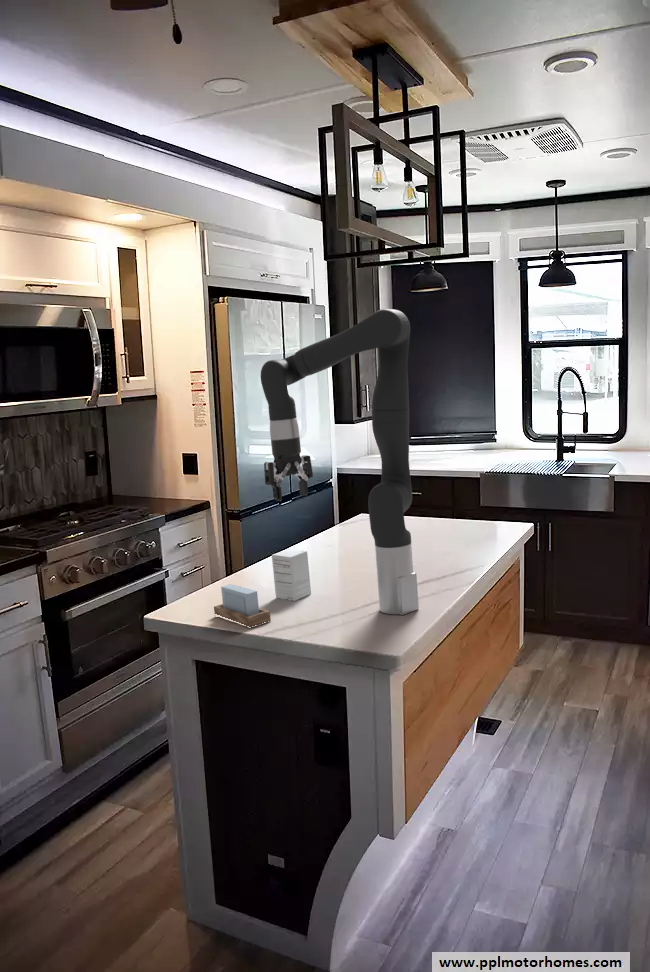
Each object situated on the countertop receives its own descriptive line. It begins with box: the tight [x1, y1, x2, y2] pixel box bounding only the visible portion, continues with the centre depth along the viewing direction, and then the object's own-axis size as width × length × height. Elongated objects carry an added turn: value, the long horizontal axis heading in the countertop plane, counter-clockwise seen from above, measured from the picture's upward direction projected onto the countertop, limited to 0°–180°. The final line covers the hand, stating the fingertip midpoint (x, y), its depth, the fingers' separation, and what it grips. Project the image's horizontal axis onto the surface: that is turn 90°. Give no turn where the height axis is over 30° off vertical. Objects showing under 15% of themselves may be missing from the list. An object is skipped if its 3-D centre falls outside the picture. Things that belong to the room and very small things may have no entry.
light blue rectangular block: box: [220, 583, 260, 616], centre depth 208 cm, size 12×3×7 cm, turn 41°
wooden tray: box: [213, 603, 272, 627], centre depth 208 cm, size 16×6×3 cm, turn 41°
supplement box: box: [271, 548, 312, 602], centre depth 224 cm, size 7×7×13 cm
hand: (291, 497), depth 211 cm, fingers open, 8 cm apart
